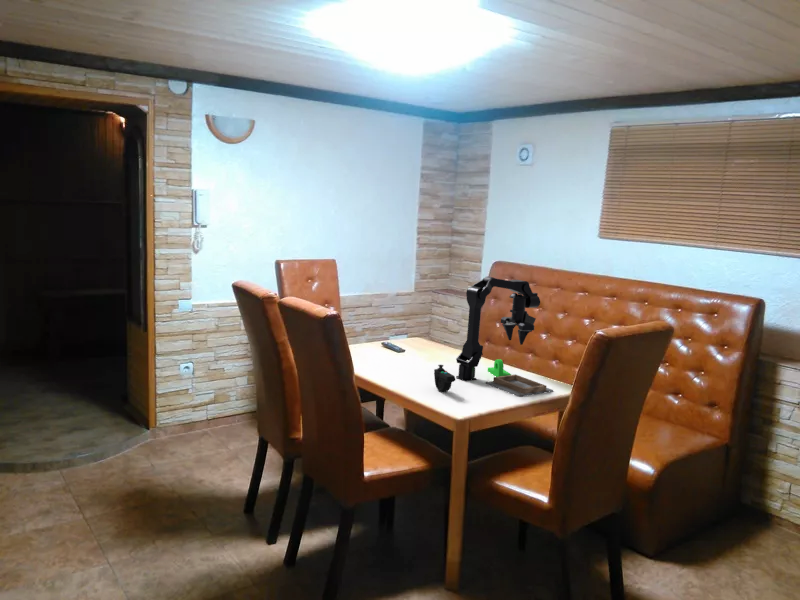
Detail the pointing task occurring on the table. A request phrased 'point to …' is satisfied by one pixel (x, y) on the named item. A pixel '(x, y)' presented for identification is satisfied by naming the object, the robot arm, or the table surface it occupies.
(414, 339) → the table surface
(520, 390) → the seat
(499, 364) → the mechanical part
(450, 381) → the controller
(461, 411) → the table surface
